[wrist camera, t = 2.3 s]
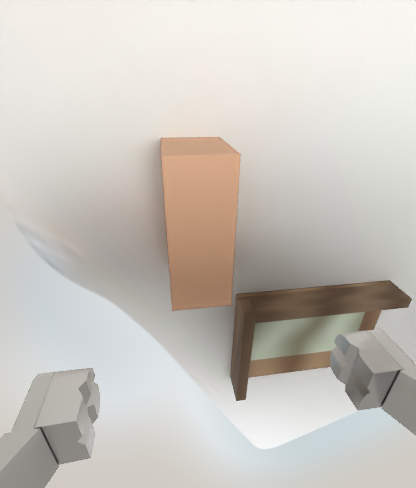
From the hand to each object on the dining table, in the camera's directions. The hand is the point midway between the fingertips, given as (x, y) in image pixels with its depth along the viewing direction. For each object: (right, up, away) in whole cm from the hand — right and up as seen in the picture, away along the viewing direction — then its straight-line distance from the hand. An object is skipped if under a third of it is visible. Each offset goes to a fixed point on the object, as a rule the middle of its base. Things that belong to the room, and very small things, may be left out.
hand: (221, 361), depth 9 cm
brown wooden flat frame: (+10, -6, +21) cm, 24 cm away
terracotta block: (-2, +7, +12) cm, 14 cm away
